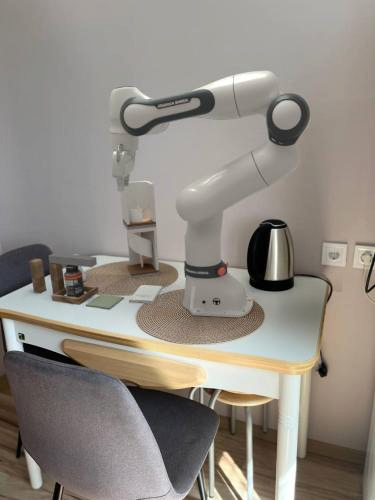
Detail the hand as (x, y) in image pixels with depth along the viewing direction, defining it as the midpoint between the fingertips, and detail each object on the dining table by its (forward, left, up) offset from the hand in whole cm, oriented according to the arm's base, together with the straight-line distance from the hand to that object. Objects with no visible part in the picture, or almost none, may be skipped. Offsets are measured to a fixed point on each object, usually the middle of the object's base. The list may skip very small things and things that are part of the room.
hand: (123, 188), depth 126 cm
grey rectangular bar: (+18, +7, -24) cm, 31 cm away
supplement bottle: (+18, +7, -37) cm, 41 cm away
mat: (+6, +8, -36) cm, 38 cm away
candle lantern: (+7, -21, -37) cm, 43 cm away
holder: (+24, +7, -36) cm, 44 cm away
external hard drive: (-5, -1, -37) cm, 37 cm away
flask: (+27, -6, -37) cm, 46 cm away
